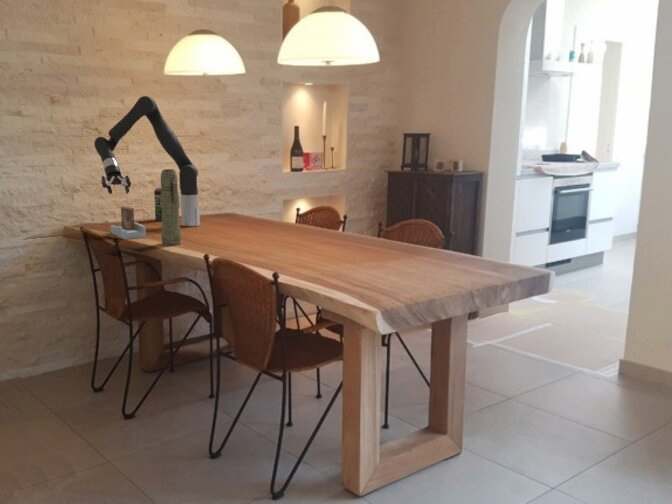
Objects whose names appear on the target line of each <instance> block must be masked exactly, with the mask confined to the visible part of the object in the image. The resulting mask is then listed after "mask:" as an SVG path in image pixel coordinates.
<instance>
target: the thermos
mask: <svg viewBox="0 0 672 504" xmlns="http://www.w3.org/2000/svg"><path fill="white" fill-rule="evenodd" d="M160 188H161V189H162V190H161V195H160V207H161V209H162V221H161V227H162V228H161V231H160V232H161V235H160V236H161V240H162V241H161V243H162V245H163V246H167V247H169V246H170V247H171V246H180V245H181V244H182V242H181V240H182V230H181V227H180V212H179V211H180V210H179V209H180V208H181V207H180V206H181V201H180V194H179V190H178V174H177V172H176V170H175V169H172V168H171V169H170V168H168V169H163V170H161V173H160Z"/></svg>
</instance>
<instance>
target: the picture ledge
mask: <svg viewBox="0 0 672 504" xmlns="http://www.w3.org/2000/svg"><path fill="white" fill-rule="evenodd" d="M134 227H135V230H124V229H122V225H121V226H119V225H118V226H116V225H114V224H111V225H110V233H111V234H112V235H115V236H117V237H119V238H120V239H123V240H130V239H142V238H147V227H146V226H145V225H143V224H141V223H139V222H136V221H134Z"/></svg>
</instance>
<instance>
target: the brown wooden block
mask: <svg viewBox="0 0 672 504" xmlns="http://www.w3.org/2000/svg"><path fill="white" fill-rule="evenodd" d="M120 216H121V217H120V218H121V226H122V229H124V230H135V227H134V222H135V211H134V207H132V206H129V205H128V206H127V205H126V206H120Z"/></svg>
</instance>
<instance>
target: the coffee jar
mask: <svg viewBox="0 0 672 504" xmlns="http://www.w3.org/2000/svg"><path fill="white" fill-rule="evenodd" d="M161 190H162V189H161V187H159V188H155V189H154V217H155V220H157V221H160V222H162V209H161V207H160V195H161Z"/></svg>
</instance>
